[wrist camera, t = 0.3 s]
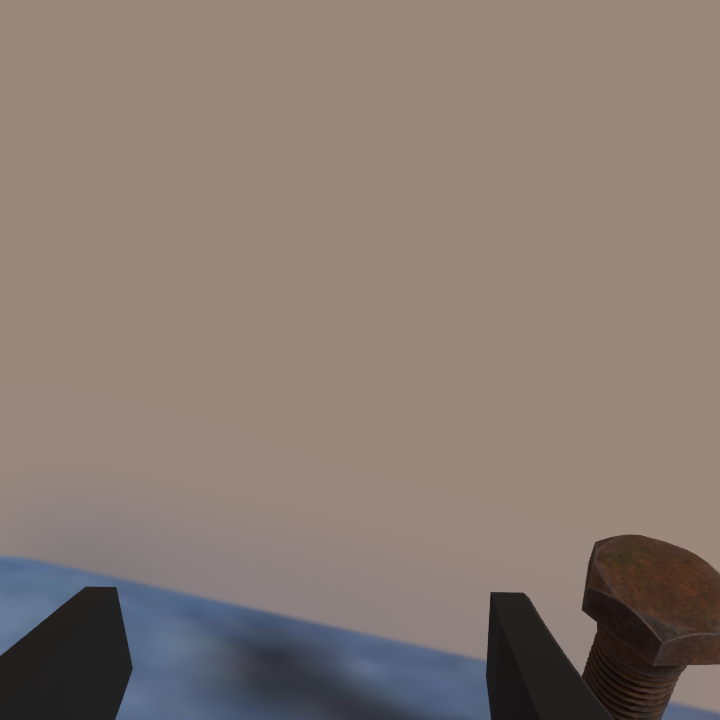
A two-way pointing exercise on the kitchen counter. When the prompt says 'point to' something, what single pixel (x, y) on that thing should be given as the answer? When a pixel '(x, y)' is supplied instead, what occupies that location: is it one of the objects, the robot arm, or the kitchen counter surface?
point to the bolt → (647, 622)
